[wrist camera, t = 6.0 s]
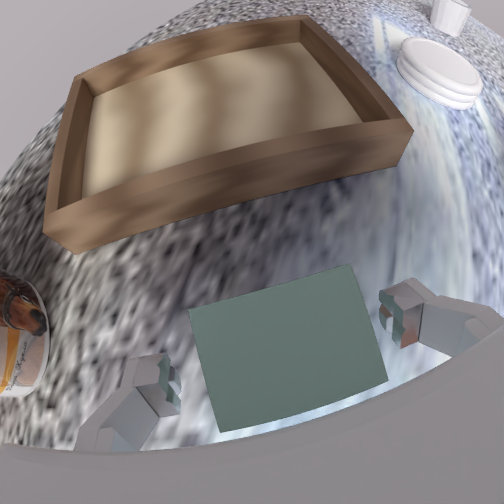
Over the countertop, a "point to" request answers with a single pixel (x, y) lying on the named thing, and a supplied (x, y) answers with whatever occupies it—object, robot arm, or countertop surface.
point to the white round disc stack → (439, 73)
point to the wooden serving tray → (213, 128)
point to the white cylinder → (449, 15)
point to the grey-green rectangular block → (287, 349)
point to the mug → (21, 336)
